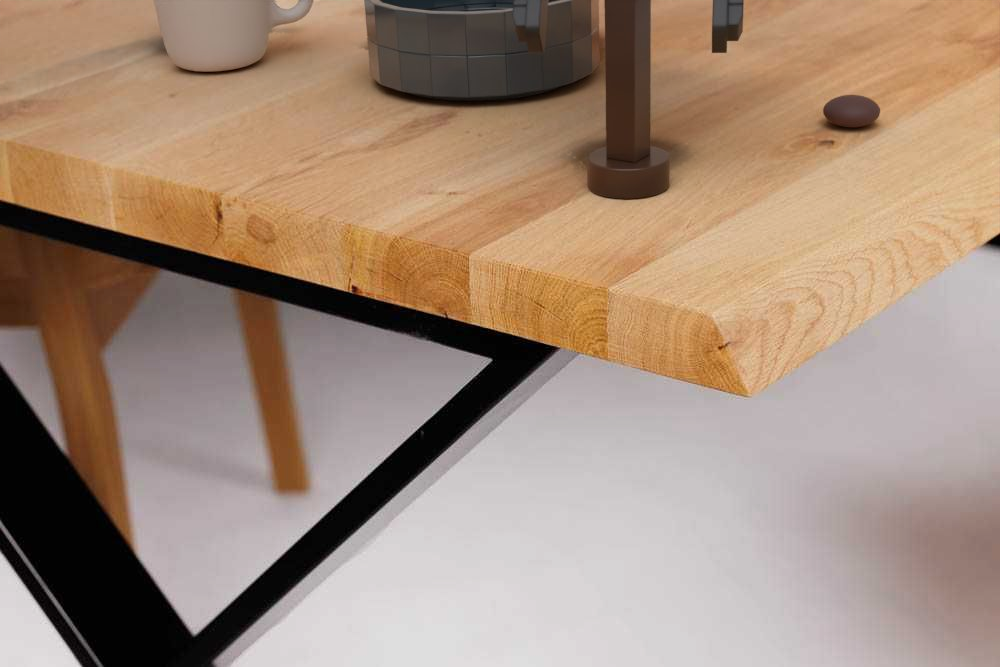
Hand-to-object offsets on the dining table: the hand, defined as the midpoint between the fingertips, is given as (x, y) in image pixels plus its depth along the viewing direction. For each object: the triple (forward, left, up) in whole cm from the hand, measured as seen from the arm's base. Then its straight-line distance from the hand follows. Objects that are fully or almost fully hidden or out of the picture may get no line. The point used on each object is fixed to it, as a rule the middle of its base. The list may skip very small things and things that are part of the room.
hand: (626, 44), depth 67 cm
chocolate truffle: (+15, -5, -7) cm, 18 cm away
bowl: (+15, +19, -7) cm, 25 cm away
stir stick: (+1, +1, -7) cm, 7 cm away
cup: (+11, +36, -7) cm, 38 cm away
